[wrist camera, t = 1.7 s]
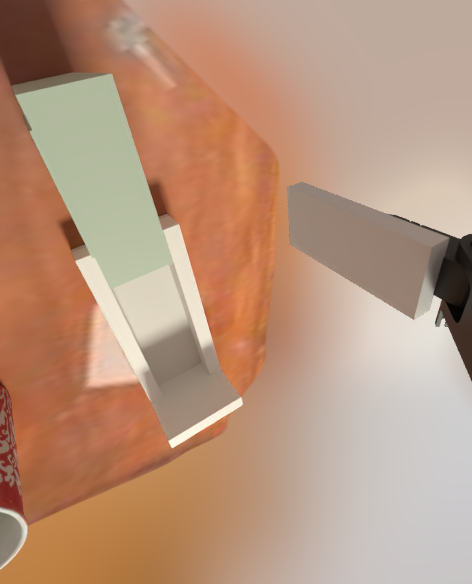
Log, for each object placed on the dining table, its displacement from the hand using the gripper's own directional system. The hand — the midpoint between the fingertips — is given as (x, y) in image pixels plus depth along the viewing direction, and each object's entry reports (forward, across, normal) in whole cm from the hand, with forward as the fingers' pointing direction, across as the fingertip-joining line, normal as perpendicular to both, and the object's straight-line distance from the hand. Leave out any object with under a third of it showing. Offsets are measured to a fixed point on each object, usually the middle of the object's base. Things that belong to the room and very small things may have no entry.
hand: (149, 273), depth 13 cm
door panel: (+19, 0, +1) cm, 19 cm away
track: (+19, +2, -16) cm, 25 cm away
